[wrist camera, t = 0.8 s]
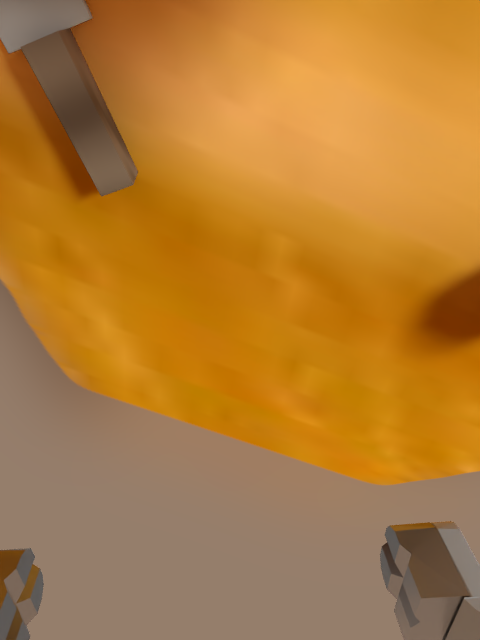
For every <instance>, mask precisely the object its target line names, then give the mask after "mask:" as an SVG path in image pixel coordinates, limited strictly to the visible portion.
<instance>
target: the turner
mask: <svg viewBox="0 0 480 640" xmlns="http://www.w3.org/2000/svg"><path fill="white" fill-rule="evenodd" d="M92 18H93V17H92V14H91V12H90V10H89V8H88V5H87V3H86V1H85V0H0V39H1V41H2V42H3V44H4V46H5V48H6V49H7V51H8V53H13V52H15V51H17V50H20V49H22V51H23V53H24V55H25V57H26V59H27V61H28V62H29V64H30V66H31V68H32V70H33V72H34V73H35V75H36V77H37V79H38V81H39V83H40V84H41V86H42V88H43V90H44V92H45V94H46V95H47V97H48V99H49V101H50V103H51V105H52V107H53V108H54V110H55V112H56V114H57V116H58V118H59V119H60V121H61V123H62V125H63V127H64V129H65V130H66V132H67V134H68V136H69V138H70V140H71V141H72V143H73V145H74V147H75V149H76V151H77V153H78V154H79V156H80V158H81V160H82V162H83V164H84V165H85V167H86V169H87V171H88V173H89V175H90V176H91V178H92V180H93V182H94V184H95V186H96V187H97V189H98V191H99V193H100V195H101V196H104V195H106V194H109V193H112V192H115V191H117V190H120V189H123V188H126V187H128V186H131V185H133V184H134V181H135V179H136V176H137V174H138V171H137V169H136V167H135V164H134V162H133V160H132V158H131V156H130V154H129V152H128V150H127V148H126V145H125V143H124V141H123V139H122V137H121V135H120V133H119V131H118V129H117V126H116V124H115V122H114V120H113V118H112V116H111V114H110V112H109V110H108V107H107V105H106V103H105V101H104V99H103V97H102V95H101V93H100V91H99V88H98V86H97V84H96V82H95V80H94V78H93V76H92V74H91V72H90V69H89V67H88V65H87V63H86V61H85V59H84V57H83V55H82V53H81V50H80V48H79V46H78V44H77V42H76V40H75V38H74V36H73V34H72V31H71V29H70V28H71V27H73V26H76V25H78V24H81V23H83V22H85V21H88V20H90V19H92Z"/></svg>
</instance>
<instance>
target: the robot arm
mask: <svg viewBox="0 0 480 640" xmlns="http://www.w3.org/2000/svg"><path fill="white" fill-rule="evenodd" d="M385 537H386V539H387V543H386V544H384V545H383V546H382V549H381V554H380V561H381V570H382V574H383V578H384V581H385V585H386V588H387V590H388V591H389V592H390V593H391V594H392V595H393V596H394V597H395V598H396V599H397V602H396V606H395V609H394V612H395V615H396V618H397V620H398V624H399V627H400V630H401V632H402V635H403V638H404V640H480V565H479V563H478V562H477V560H476V558H475V556H474V554H473V552H472V551H471V549H470V547H469V545H468V543H467V541H466V540H465V538H464V536H463V534H462V532H461V530H460V528H459V527H458V526H457V525H456V524H455V523H454V522H451V521H450V522H435V523H429V522H428V523H416V524H404V525H392V526H388V527H387V528H386V532H385ZM34 558H35V556H34V554H33V552H32V550H31V548H28V549H10V550H0V640H29V639H30V634H29V631H28V629H27V624H28V623H29V622H30V621H31V620H32V619H33V618H34V617H35V616H36V615H37V613H38V610H39V606H40V603H41V600H42V593H43V585H44V584H43V575H42V572H41V570H40V568H38V567H37V566H35V565H33V561H34Z"/></svg>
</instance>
